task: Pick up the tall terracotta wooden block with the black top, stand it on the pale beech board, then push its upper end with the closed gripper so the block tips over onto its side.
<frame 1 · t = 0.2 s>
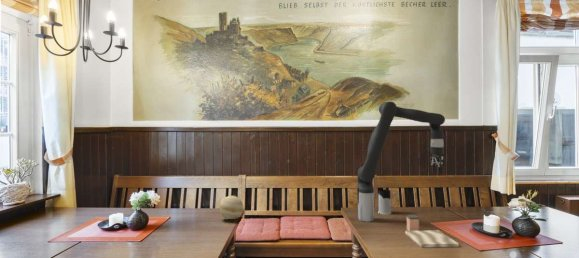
hand: (437, 172, 221), 29 cm above the table, tool pointing down, fingers open, 8 cm apart
block: (412, 230, 197), on the table
board: (430, 239, 181), on the table
glass holder: (388, 212, 238), on the table
decorative ball: (231, 219, 225), on the table
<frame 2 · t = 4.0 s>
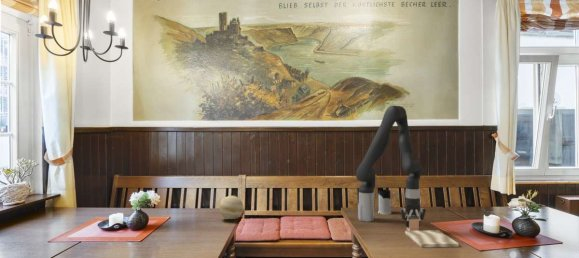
hand: (412, 227, 197), 2 cm above the table, tool pointing down, fingers closed on block, 5 cm apart
block: (412, 230, 197), on the table, touching gripper
everything else where it was.
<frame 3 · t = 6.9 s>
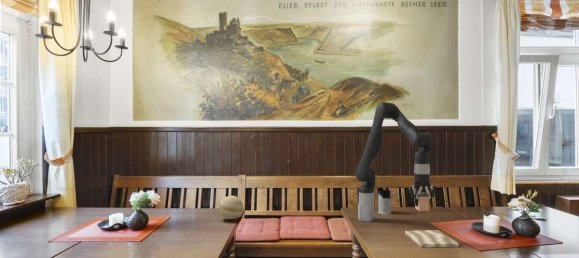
hand: (422, 205, 181), 17 cm above the table, tool pointing down, fingers closed on block, 5 cm apart
block: (422, 209, 181), point 15 cm above the table, touching gripper
everything else where it was.
when the fingers open (4 cm above the table, at t = 9.7 s): block stays where it is, resting on board.
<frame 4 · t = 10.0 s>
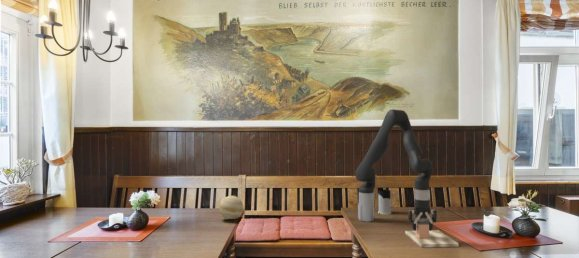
hand: (422, 230, 181), 5 cm above the table, tool pointing down, fingers open, 7 cm apart
block: (422, 236, 181), point 1 cm above the table, touching board
everything else where it was.
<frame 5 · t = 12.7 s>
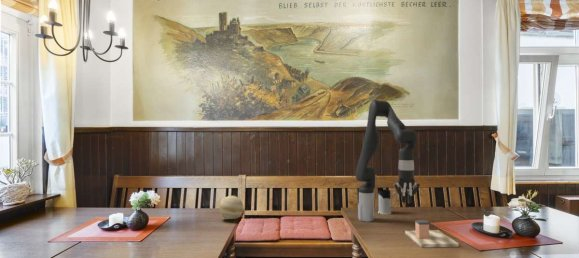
hand: (406, 202, 180), 19 cm above the table, tool pointing down, fingers closed
nothing on the table moved.
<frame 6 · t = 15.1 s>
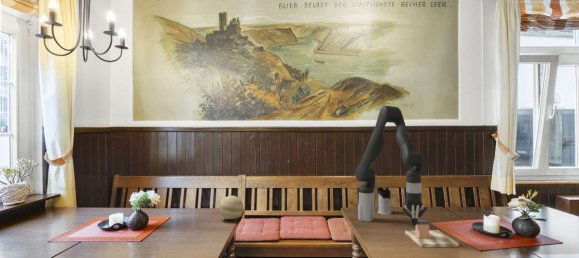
hand: (414, 225, 180), 8 cm above the table, tool pointing down, fingers closed
block: (422, 236, 181), point 2 cm above the table, touching board, gripper
everything else where it was.
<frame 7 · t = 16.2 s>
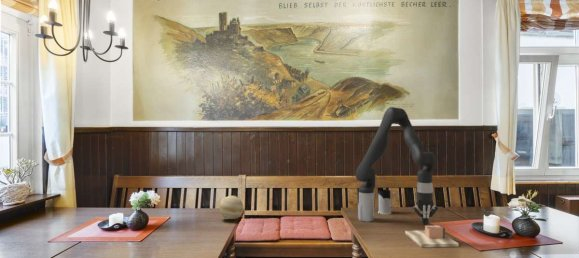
hand: (425, 225, 181), 8 cm above the table, tool pointing down, fingers closed
block: (427, 231, 181), point 4 cm above the table, tilted 90°, touching board
everything else where it was.
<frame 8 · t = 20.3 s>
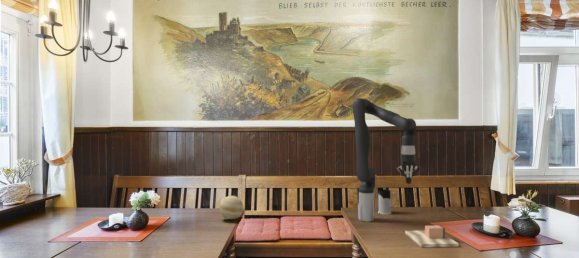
hand: (408, 183, 203), 25 cm above the table, tool pointing down, fingers closed
nothing on the table moved.
at the end: block tilted 90°; block inside the target area on the board (2.6 cm from its centre), point 4.0 cm above the board's base; the gripper is holding nothing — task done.
